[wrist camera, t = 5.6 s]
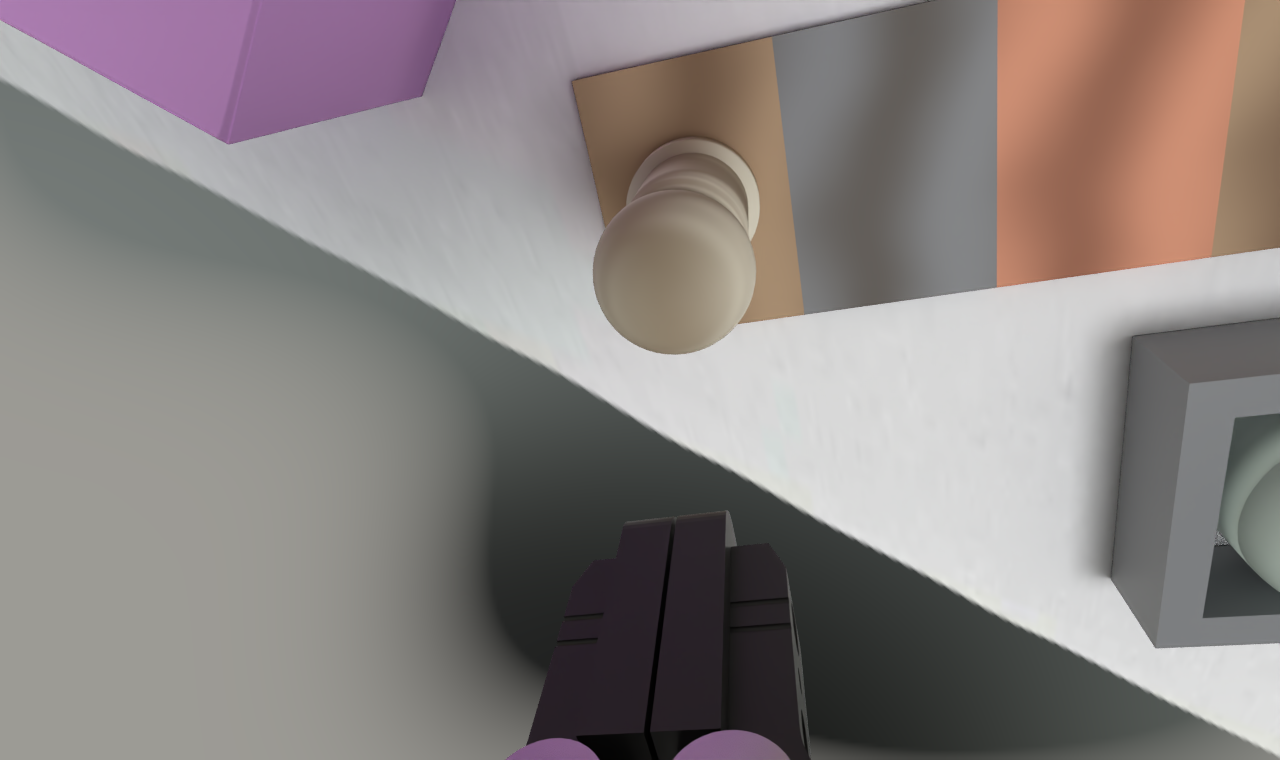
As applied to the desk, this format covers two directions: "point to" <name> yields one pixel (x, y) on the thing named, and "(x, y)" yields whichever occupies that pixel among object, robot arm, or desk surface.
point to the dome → (1254, 495)
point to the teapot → (247, 54)
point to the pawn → (681, 248)
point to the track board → (972, 142)
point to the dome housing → (1191, 484)
